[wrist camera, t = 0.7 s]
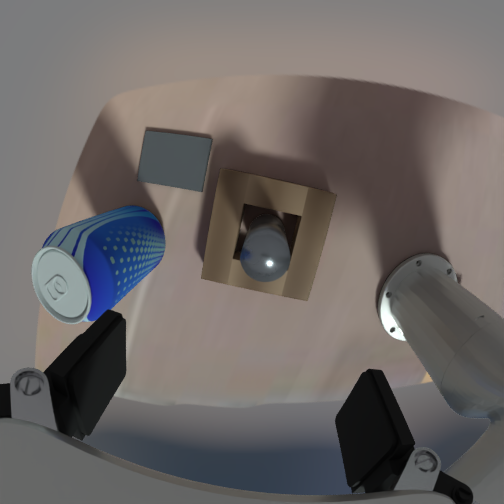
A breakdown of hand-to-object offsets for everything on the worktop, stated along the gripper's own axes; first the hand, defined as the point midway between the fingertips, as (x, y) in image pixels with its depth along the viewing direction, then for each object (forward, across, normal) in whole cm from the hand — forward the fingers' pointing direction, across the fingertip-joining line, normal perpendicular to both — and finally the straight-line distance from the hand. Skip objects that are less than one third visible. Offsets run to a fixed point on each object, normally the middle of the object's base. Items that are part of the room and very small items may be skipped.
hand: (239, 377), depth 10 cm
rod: (+24, -1, 0) cm, 24 cm away
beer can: (+24, +14, +4) cm, 28 cm away
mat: (+24, +11, -6) cm, 27 cm away
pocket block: (+24, -1, 0) cm, 24 cm away
